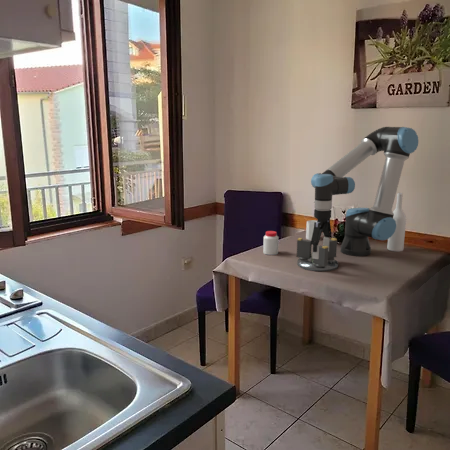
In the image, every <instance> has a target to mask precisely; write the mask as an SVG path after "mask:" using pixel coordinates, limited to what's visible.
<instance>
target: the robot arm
mask: <svg viewBox="0 0 450 450" xmlns="http://www.w3.org/2000/svg"><path fill="white" fill-rule="evenodd" d="M418 147H419V136H418V134H417V131H416V130H415V129H413V128H412V127H406V126H383V127H381V128H378V129H376V130H374V131H372V132H370V133H368V134H367V135H366V136H365V137H364V138H362V139H361V141H360V143H359V144H358V145H357V146H355V147H354V148H353V149H352V150H350V151H349V152H347V154H344V156H343V157H341V158H340V159H338V160H337V161H336V162H335V163H333V164H332V165H330V167H328V168H327V169H326V170H325V171H323V172H322V173H321V172H318V173H314V174H313V175H312V177H311V179H310V184H311V185H312V186H311V187H313V188H314V200H313V203H314V210H313V211H314V212H313V217H314V219H316V221H317V222H315V223H314V230H313V234H312V239H311V240H310V241H311V244H312V249H311V256H312V258H313V259H319V245H320V244H319V243H320V240H321V236H322V234H323V233H324V235H323V236H324V237H323V239H322V240H323V241H322V242H323V243H322V246H328V251H329V240H331V238H333V236H332V226H331V218H332V208H333V196H337V195H347V194H348V195H349V194H351V193H353V192H354V191H355V189H356V182H355V180H354V178H352V177H350V176H346V175H347V174H349V173H350V172H351V171H353V169H354V168H356V167H357V166H359V165H360V164H361V163H362V162H364V161H365V160H366V159H368V158H369V157H371V156H375V155H376V154H377V153H379V152H383V155H384V157H385V160H384V164H383V167H382V171H381V176H380V179H379V182H378V187H377V191H376V196H375V198H374V202H373V206H372V207H370V208H369V207H353V208H351V207H350V208H348V209H347V210H346V213H345V214H346V215H345V226H344V227H345V228H344V238H343V240H342V243H341V244H340V253H342V254H344V255H347V256H354V257H363V256H364V257H365V256H368V255H371V253H372V247H371V244H370V241H369V238H371V239H374V240H379V241H386V240H387V241H388V239H389V238H390V237H391V236H392V235H393V234H394V232H395V230H396V221H395V220H394V219H393V216H394V213H393V207H394V202H395V199H396V196H397V193H398V187H399V183H400V179H401V176H402V172H403V168H404V165H405V161H406V160H408V159H409V158H410V154H412V153H414V152H415V151H416V150H417V149H418Z"/></svg>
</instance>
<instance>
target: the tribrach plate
mask: <svg viewBox="0 0 450 450" xmlns="http://www.w3.org/2000/svg"><path fill="white" fill-rule="evenodd" d="M297 266H298V268H301V269H303V270H306V271H311V272H330V271H334V270H337V269H338V268H339V261H338V260H336V259H335V258H334V260H328V265H327V266H325V267H322V268H320V267H316V266H315V264H314V263H313V258H312V255H311V258H310V259H308V260H300V259H299V258H297Z"/></svg>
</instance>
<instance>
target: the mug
mask: <svg viewBox="0 0 450 450" xmlns="http://www.w3.org/2000/svg"><path fill="white" fill-rule="evenodd" d="M315 222H317V219H316V220H313V219H312V220H306V226H305V227H306V230H305V240H310V241H311V239H312V234H313V230H314V223H315ZM322 235H323V236H324V233H323V232H322Z"/></svg>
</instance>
